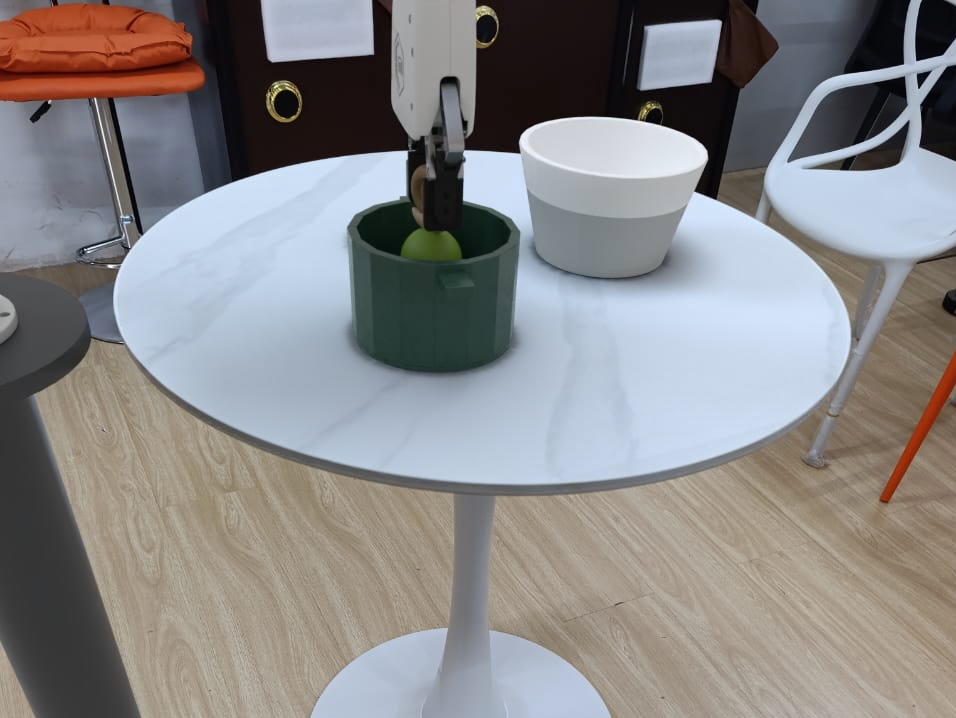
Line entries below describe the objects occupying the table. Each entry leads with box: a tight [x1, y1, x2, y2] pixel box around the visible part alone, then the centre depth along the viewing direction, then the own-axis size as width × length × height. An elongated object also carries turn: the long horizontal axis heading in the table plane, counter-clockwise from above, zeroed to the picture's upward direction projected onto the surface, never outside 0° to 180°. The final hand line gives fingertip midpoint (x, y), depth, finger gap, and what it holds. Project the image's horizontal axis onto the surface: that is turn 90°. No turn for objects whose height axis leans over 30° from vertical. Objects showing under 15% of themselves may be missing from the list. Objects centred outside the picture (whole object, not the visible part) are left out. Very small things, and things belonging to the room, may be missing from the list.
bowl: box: [518, 116, 709, 279], centre depth 97 cm, size 19×19×11 cm
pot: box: [346, 195, 522, 373], centre depth 82 cm, size 15×20×10 cm
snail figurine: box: [400, 155, 467, 261], centre depth 78 cm, size 5×6×12 cm
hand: (434, 212), depth 78 cm, fingers closed on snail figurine, 5 cm apart
